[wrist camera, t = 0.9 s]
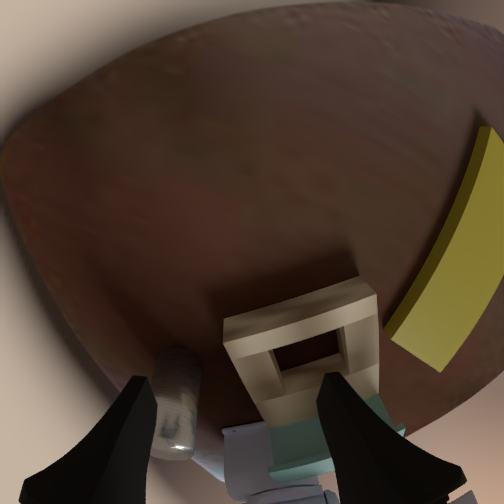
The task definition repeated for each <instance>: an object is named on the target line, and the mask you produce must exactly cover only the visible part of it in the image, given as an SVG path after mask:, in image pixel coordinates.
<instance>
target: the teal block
mask: <svg viewBox="0 0 504 504" xmlns="http://www.w3.org/2000/svg"><path fill="white" fill-rule="evenodd" d="M364 401H365V402H366V403H367V405H368V406H369V407H370V408H371V409H372V410H373V411H374V412H375V413H376V414H377V415H378V416H379V417H380V418H381V419H382V420H383V421H384V422H386V423H387V424H388V425H389V426H390V427H391V428H392V429H394V430H395V431H396V432H397V433H399V434H400V435H401V436H402V437H403V435H404V432H405V426H404V424H403V423H401V424H399V425H397V426H395V427H394V425H393V423H392V421H391V419H390V417H389V415H388V413H387V411H386V409H385V407H384V405H383V403H382V401H381V399H380V397H379V395H376V396H373V397H371V398H368V399H366V400H364ZM269 431H270V438H271V446H272V454H273V461H274V466H270V467H267V468H268V473H269V475H270V476H271V477H272V478H273V479H274V480H275V481H276V482H277V483H278V484H282V483H287V482H292V481H296V480H301V479H305V478H309V477H313V476H317V475H320V474H324V473H327V472H331V471H334V470H335V468H334V464H333V461H332V458H331V455H330V452H329V448H328V445H327V442H326V439H325V436H324V433H323V430H322V427H321V424H320V420H319V416H318V417H315V418H311V419H308V420H304V421H301V422H297V423H293V424H290V425H286V426H282V427H277V428H273V429H269Z"/></svg>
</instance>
